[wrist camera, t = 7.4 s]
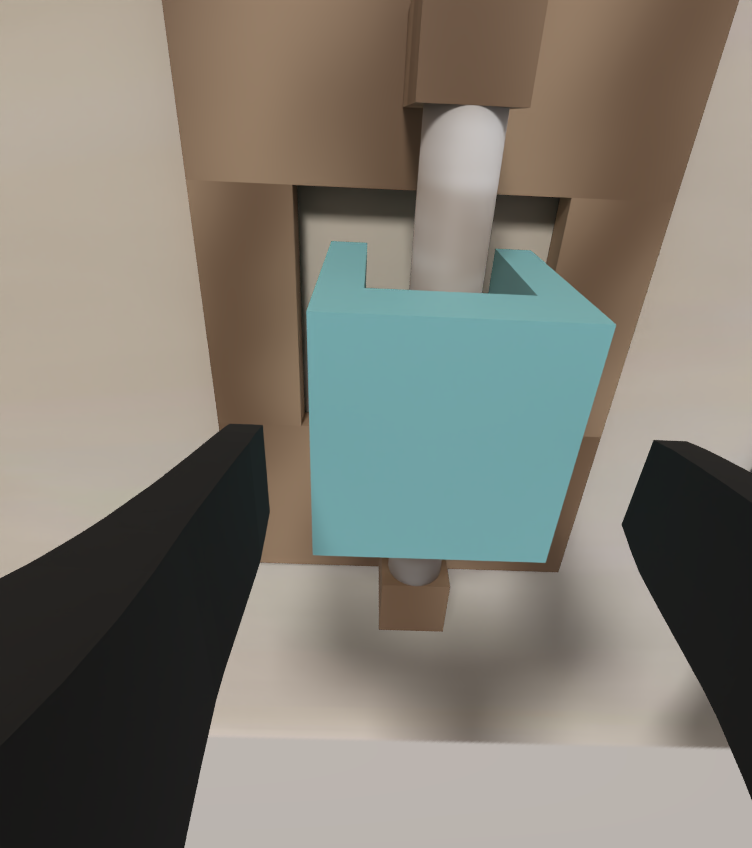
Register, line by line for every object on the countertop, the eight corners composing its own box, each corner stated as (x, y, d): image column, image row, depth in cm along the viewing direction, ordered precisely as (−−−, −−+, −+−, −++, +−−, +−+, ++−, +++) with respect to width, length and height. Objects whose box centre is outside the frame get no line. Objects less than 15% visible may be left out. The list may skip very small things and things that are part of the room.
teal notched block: (531, 250, 14) (616, 324, 9) (495, 431, 18) (545, 563, 12) (331, 241, 14) (306, 310, 9) (331, 425, 17) (312, 555, 12)
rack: (755, -126, 12) (1081, -335, 6) (551, 555, 23) (606, 693, 18) (155, -161, 12) (-46, -410, 6) (242, 545, 23) (199, 681, 18)
